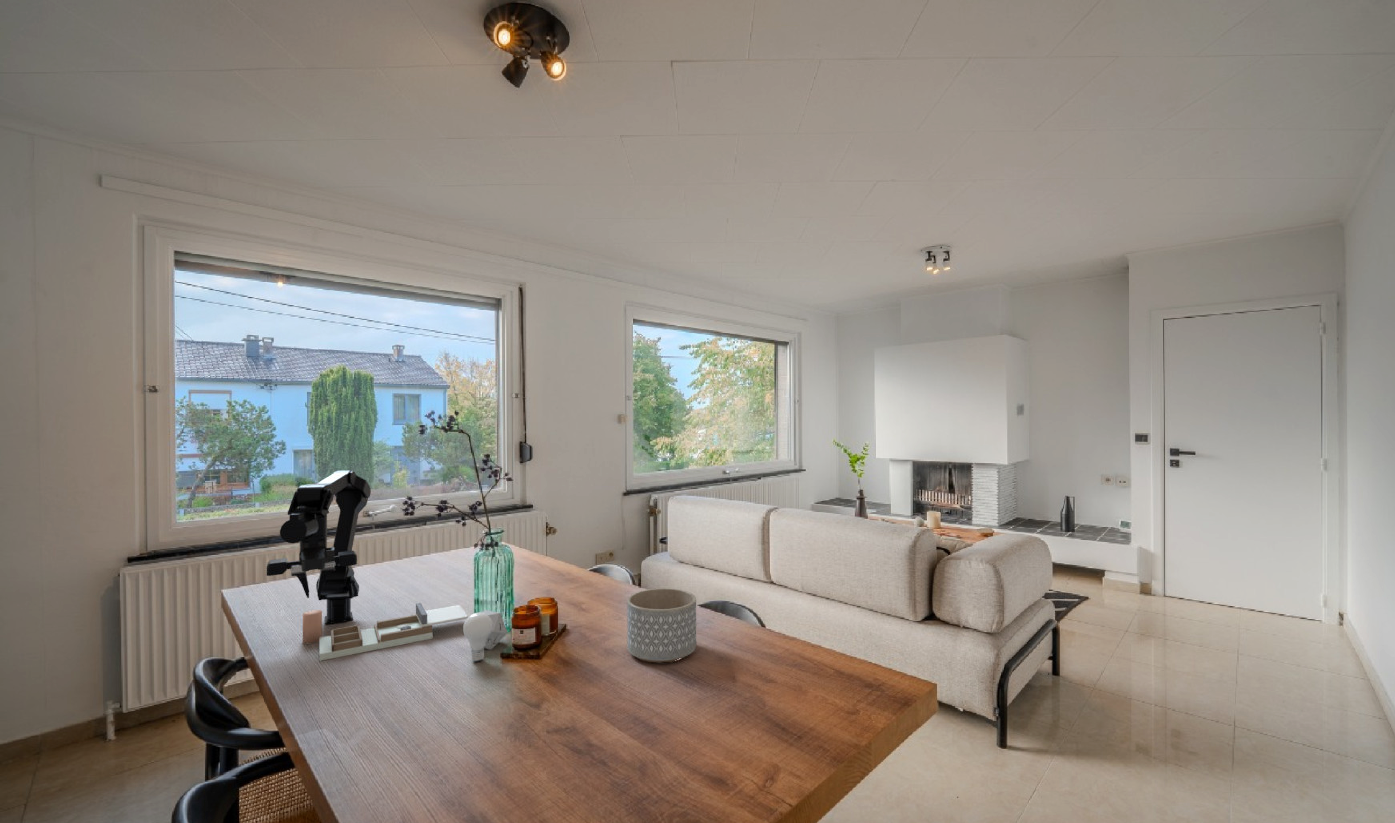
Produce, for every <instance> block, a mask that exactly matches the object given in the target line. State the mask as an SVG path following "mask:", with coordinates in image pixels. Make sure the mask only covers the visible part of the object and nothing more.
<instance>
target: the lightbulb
mask: <svg viewBox="0 0 1395 823" xmlns="http://www.w3.org/2000/svg"><path fill="white" fill-rule="evenodd" d="M492 626H493V624H492V620H491V618H490V617H489V616H488V615H487V614H485V613H482V611H480V612H479V611H478V612H475V613H471V615H469V616H468V618H467V619H465V621H464V623H463V626H462V630H463V631H462V632H463V634H464V637H465V638H466V640H467V641H468V643H469V647H470V649H471V660H472V661H473V662H476V663H477V662H481V661H483V659H484V658H485V648H484V647H485V644H486V640H487V638H488V636H489V635H490V633H491V631H492Z"/></svg>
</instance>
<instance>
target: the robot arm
mask: <svg viewBox="0 0 1395 823" xmlns="http://www.w3.org/2000/svg"><path fill="white" fill-rule="evenodd" d="M371 489H372V488H371V487H370V485H369V483H368V481H367V480H366V479H365V478H362V477H360V476H359V475H357V474H356V472H355V471H353V470H336V471H334V472H332V474H331V475H329V476H327V477H325V478H323V479H322V480H321V481H319V482H316V483H310V484H302V485H300V486H298V488H297V489H296V490H295V492H294V493H293V495H292V496H293V497H292V499H291V502H290V505H289V507H288V510H287V515H288V516H289V519H288V520H286V521H285V522H284V523H283V524H282V525H281V527H280V530H279V536H280V537H281V539H282V540H283V541H284V542H286V543H288V544H297V543H299V554H298V557H299V558H298V560H291V561H288V558H287V557H284V558H278V559H275V558H274V559H270V560H269V561H268V562H267V564H266V576H268V577H272V576H279V575H283V574H284V573H285V572H286V571H287V570H290V571H291V573H290V576H291V577H296V578H297V579H298V580H299V582H300V584H301V586H302V589H303V591H304V593H305V596H306V598H307V599H309V598H310V588H309V581H308V580H309V579H308V576H307V574H308V573H307V572H309V571H315V570H317V571H318V570H319V576H318V579H317V580H316V585H315V589H316V593H317V599H318V601H325V600H326V615H325V616H324V624H325V625H330V624H337V623H343V622H348V621H353V620H354V618H353V612H352V611H351V610H352V608H351V607H352V606H351V605H352V599H353V598H356V597H357V598H358V597H359V591H360V585H359V582H358V581H357V580H356V577H355V571H354V568H353V567H352V566H357V565H358V555H357V552H356V551H355V550H353V547H354V541H355V534H356V531H357V525H358V520H359V518H358V517H359V514H360V513H361V512H362V511H363V509H364V508H365V507H366V506H367V504H368V499H369V498H370V496H371V492H372V490H371ZM334 498H335V502H336V505H337V506H338V509H339V515H338V520H337V525H336V528H335V529H336V530H335V536H334V540H333V545H332V547H330V546H329V547H328V514H330V511H329V509H330V507H331V505H332V503H333V501H334Z"/></svg>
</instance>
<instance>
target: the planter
mask: <svg viewBox="0 0 1395 823" xmlns="http://www.w3.org/2000/svg"><path fill="white" fill-rule="evenodd" d="M696 598H697V597H696V595H695V594H693V593H692V592H689V591H686V590H682V589H677V588H652V589H645V590H640V591H637V592H634V593H633V594H631V595H629V597H628V598H627V606H626V607H627V615H626V616H627V626H626V627H627V631H626V632H627V637H626V638H627V640H626V641H627V646H626V647H627V651H628V652H629V654H631V656H634V657H636V658H637V659H639V660H641V661H643V662H645V663H646V662H647V663H651V662H670V663H672V662H671V661H675V660H677V659H679V658H683V657H685V656H686V657H688V656H690V655H691V654H692V653H694V652H695V651H696V649H697V599H696ZM686 657H685V658H686ZM683 659H684V658H683ZM675 662H676V661H675Z"/></svg>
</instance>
